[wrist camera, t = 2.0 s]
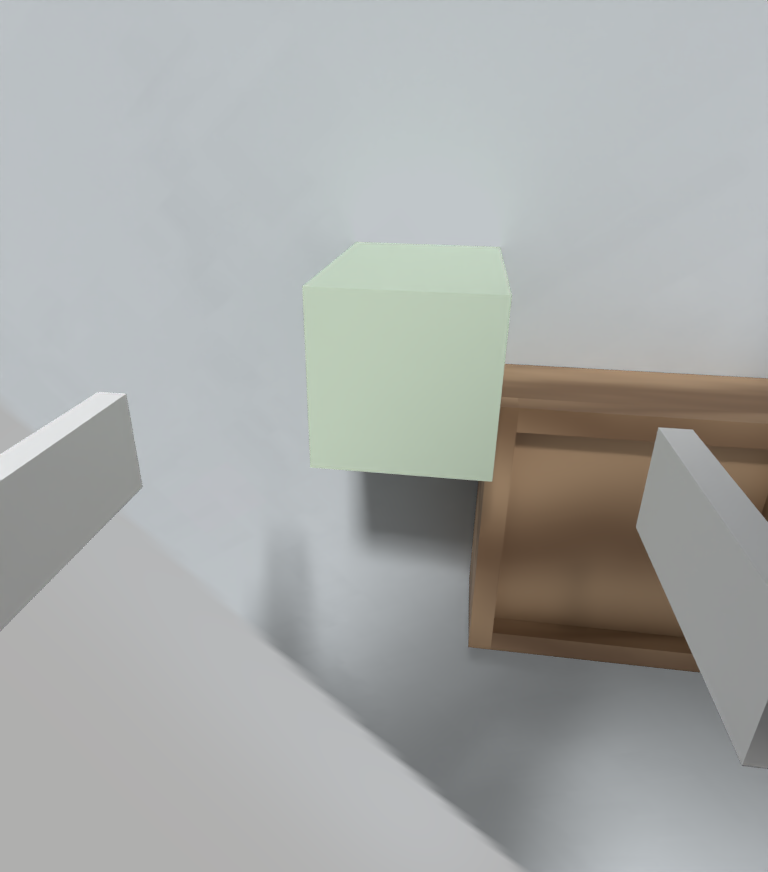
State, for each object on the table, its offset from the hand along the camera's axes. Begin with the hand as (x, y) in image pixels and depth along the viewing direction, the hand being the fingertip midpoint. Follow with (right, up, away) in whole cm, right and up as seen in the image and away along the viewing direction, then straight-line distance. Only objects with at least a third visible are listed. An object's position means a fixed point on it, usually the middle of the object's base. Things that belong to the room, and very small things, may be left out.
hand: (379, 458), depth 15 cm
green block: (+2, +6, +11) cm, 13 cm away
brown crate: (+11, -2, +14) cm, 18 cm away
